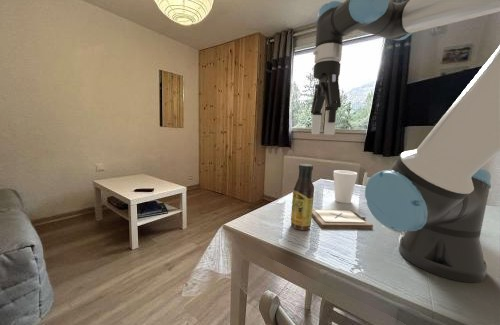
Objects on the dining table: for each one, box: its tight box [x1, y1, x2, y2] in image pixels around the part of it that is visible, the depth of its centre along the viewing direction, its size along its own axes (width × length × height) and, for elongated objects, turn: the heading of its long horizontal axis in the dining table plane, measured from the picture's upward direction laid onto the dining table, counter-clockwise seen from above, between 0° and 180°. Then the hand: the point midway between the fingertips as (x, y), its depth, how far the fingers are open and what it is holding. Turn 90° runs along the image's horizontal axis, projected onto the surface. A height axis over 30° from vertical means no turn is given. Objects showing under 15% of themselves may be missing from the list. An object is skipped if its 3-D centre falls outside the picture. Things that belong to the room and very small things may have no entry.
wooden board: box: [312, 208, 374, 230], centre depth 72 cm, size 13×16×2 cm
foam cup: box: [332, 169, 358, 204], centre depth 92 cm, size 10×9×13 cm
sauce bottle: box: [290, 163, 315, 231], centre depth 64 cm, size 6×6×20 cm
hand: (321, 134), depth 66 cm, fingers open, 13 cm apart
